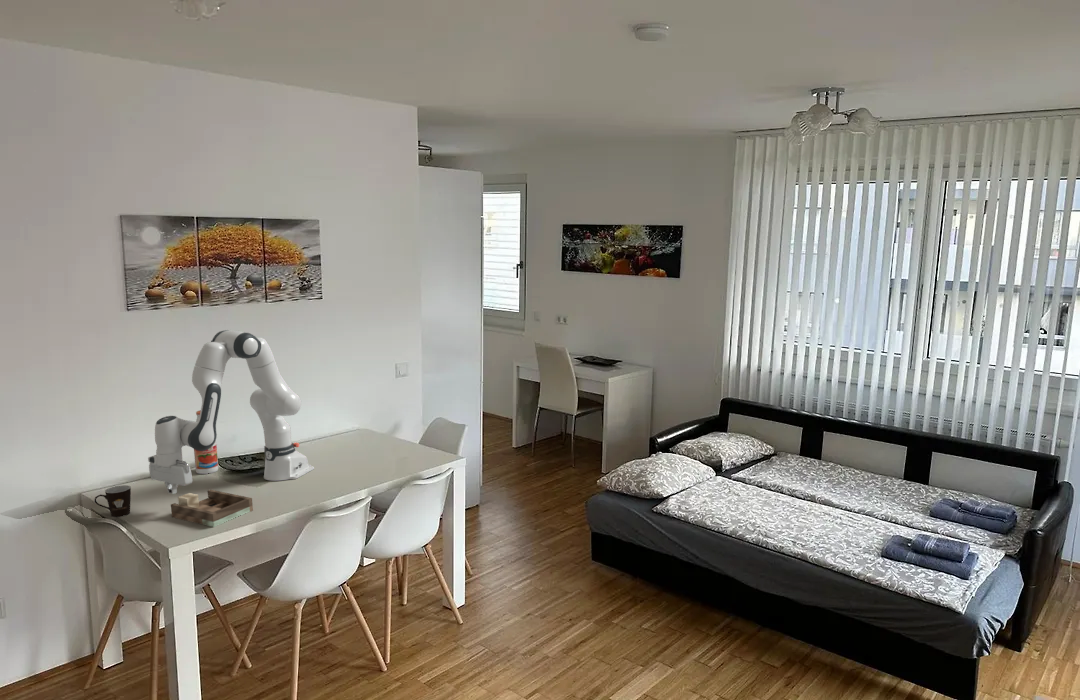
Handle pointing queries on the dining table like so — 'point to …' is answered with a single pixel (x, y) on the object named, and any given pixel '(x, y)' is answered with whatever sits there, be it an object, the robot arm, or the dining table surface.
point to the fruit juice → (206, 457)
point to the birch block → (189, 500)
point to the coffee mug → (117, 500)
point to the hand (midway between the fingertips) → (172, 493)
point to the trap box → (214, 509)
